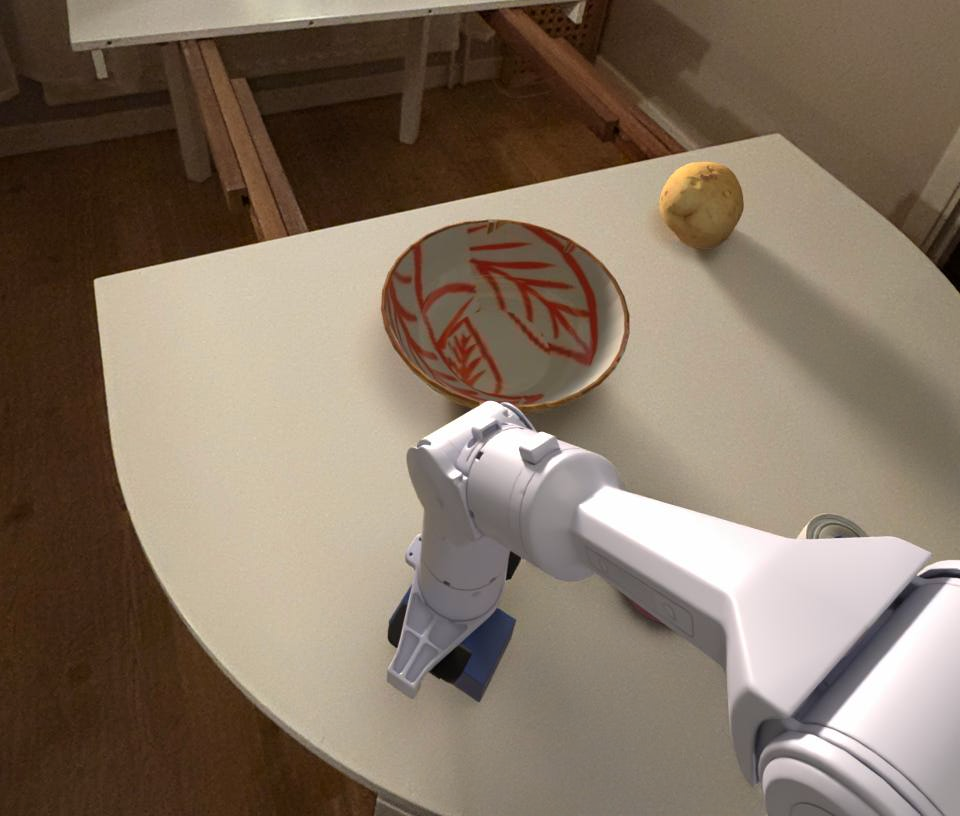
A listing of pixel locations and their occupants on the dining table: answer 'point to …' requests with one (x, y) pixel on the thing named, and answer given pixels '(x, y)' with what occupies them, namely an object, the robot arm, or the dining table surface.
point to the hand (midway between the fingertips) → (451, 630)
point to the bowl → (505, 315)
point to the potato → (702, 204)
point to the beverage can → (831, 528)
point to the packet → (481, 651)
